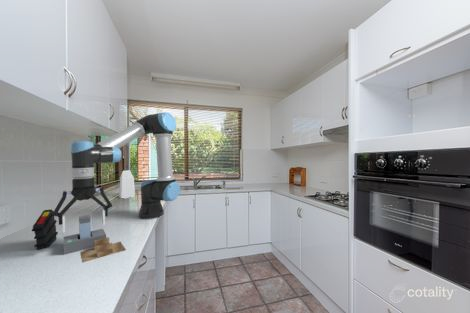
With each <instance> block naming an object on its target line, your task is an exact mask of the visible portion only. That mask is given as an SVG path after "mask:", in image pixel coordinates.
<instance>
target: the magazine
mask: <svg viewBox="0 0 470 313" xmlns="http://www.w3.org/2000/svg"><path fill="white" fill-rule="evenodd" d="M53 212H54V210H53V209H44V210H42V212H41V214H40V215H39V217H38V218H37V219H36V221H35V223H34V224H33V225H32V228H31V232H34V235H35V236H34V237H33V239H34V240H35V241H36V242H35V245H34V247H35V248H36V250H37V251H39V250H45V249H47V248H49V247H50V246H51V245H52V244H53V243H54V242H55V241H56V240H57V235H58V234H59V231H57V227H56V224H57V220H56V219H55V216H53V215H52V214H53Z"/></svg>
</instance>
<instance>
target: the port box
mask: <svg viewBox="0 0 470 313" xmlns="http://www.w3.org/2000/svg"><path fill="white" fill-rule="evenodd" d="M103 238H107V233H106V231H104V228H100V229H95V230H91V237H87V238H83V239H80V234H79V233H75V234H70V235H67V236H66V235H65V236H63V239H62V240H63V255H65V256H66V255H68V254H72V253H76V252H82V251H86V250H90V249H94V241H95V240H99V239H103Z"/></svg>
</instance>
